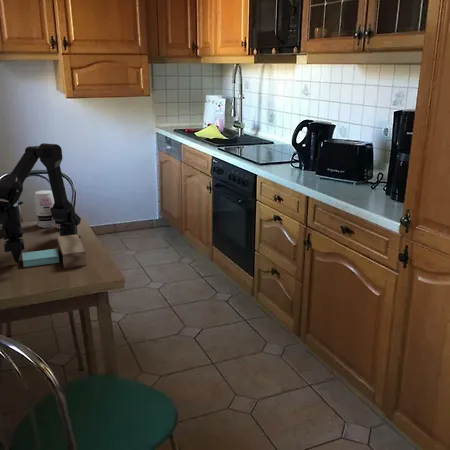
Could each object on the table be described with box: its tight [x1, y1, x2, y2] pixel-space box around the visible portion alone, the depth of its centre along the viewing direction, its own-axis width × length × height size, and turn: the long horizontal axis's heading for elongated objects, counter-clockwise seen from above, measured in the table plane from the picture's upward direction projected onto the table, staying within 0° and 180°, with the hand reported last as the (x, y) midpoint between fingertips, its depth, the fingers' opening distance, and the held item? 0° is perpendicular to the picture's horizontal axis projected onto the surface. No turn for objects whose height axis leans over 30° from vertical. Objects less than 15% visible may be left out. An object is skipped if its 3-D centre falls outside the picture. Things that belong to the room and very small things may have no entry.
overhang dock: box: [56, 233, 87, 269], centre depth 189 cm, size 8×20×5 cm, turn 22°
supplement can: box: [33, 189, 56, 229], centre depth 224 cm, size 8×8×15 cm
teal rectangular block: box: [21, 248, 60, 268], centre depth 186 cm, size 12×8×2 cm, turn 112°
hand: (16, 261), depth 183 cm, fingers closed
